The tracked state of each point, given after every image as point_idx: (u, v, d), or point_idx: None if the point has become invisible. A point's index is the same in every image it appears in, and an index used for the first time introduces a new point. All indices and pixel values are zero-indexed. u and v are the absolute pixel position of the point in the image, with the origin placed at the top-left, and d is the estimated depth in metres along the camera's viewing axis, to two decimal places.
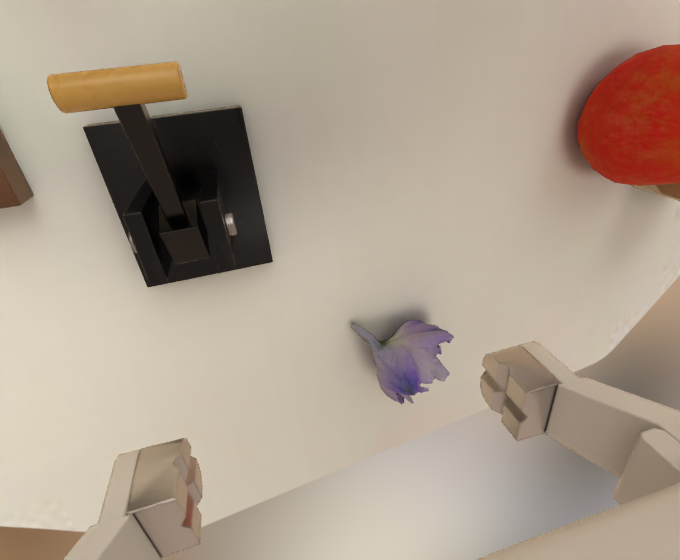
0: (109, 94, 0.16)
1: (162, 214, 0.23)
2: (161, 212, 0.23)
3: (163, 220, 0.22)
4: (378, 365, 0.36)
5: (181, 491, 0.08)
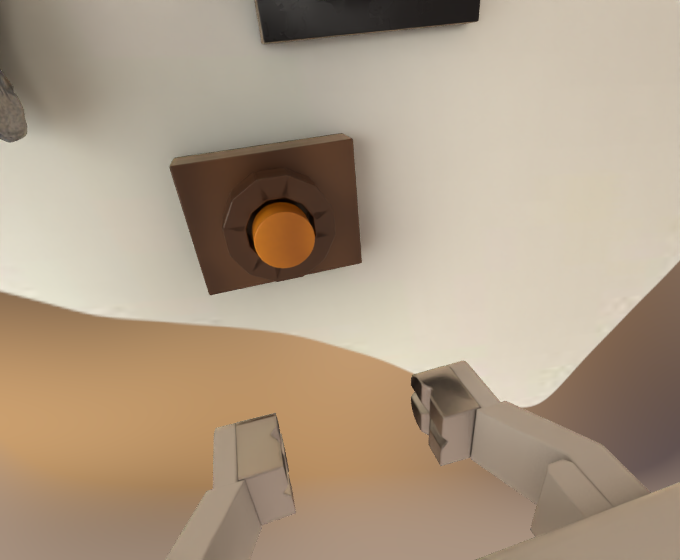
0: None
1: None
2: None
3: None
4: None
5: (283, 461, 0.09)
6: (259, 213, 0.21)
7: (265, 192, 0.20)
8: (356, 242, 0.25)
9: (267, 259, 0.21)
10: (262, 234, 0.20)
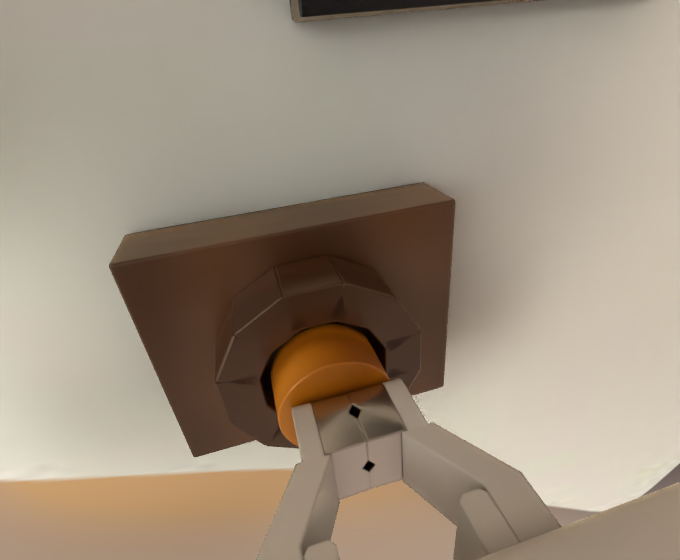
0: None
1: None
2: None
3: None
4: None
5: None
6: (285, 348, 0.11)
7: (300, 316, 0.10)
8: (439, 359, 0.15)
9: None
10: (295, 404, 0.10)
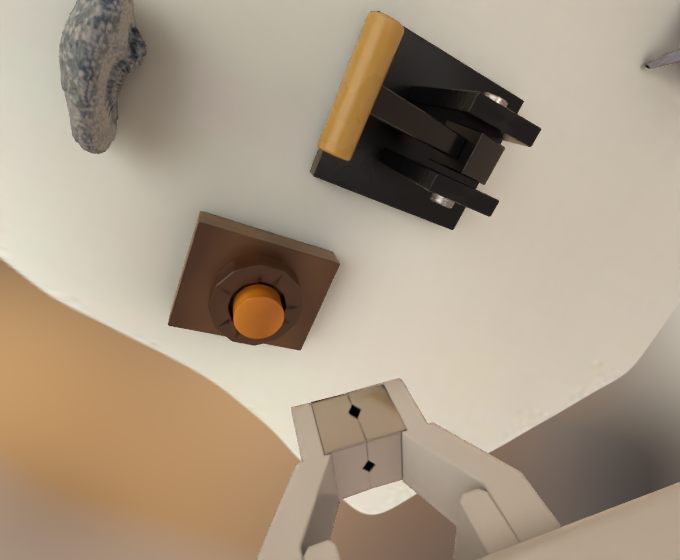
0: (364, 105, 0.15)
1: (441, 159, 0.21)
2: (438, 159, 0.21)
3: (449, 162, 0.21)
4: None
5: None
6: (248, 287, 0.25)
7: (262, 275, 0.25)
8: (305, 333, 0.30)
9: (237, 325, 0.25)
10: (246, 306, 0.24)
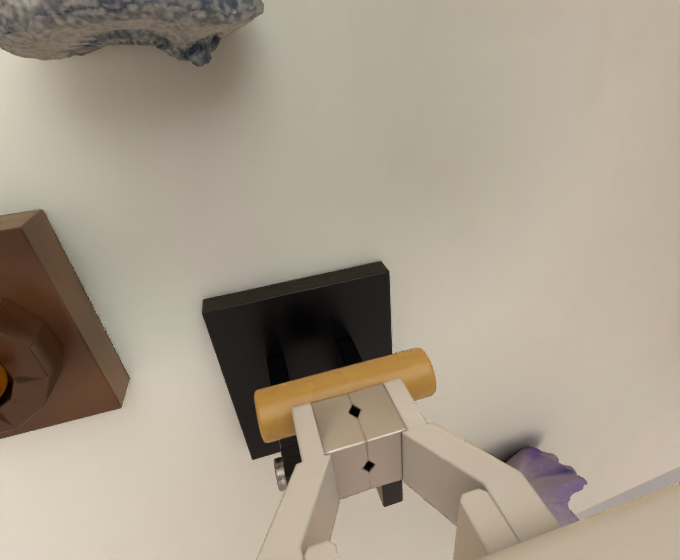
0: None
1: None
2: None
3: None
4: None
5: None
6: None
7: (13, 359, 0.15)
8: None
9: None
10: None
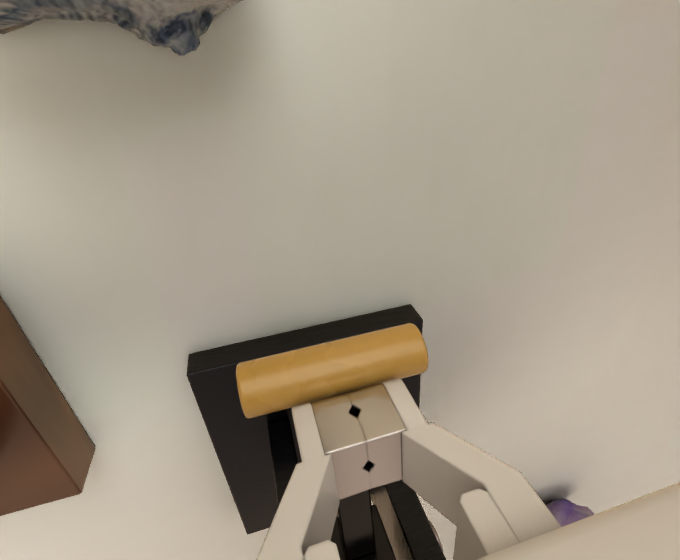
0: (324, 384, 0.10)
1: (332, 541, 0.14)
2: None
3: None
4: None
5: None
6: None
7: None
8: None
9: None
10: None
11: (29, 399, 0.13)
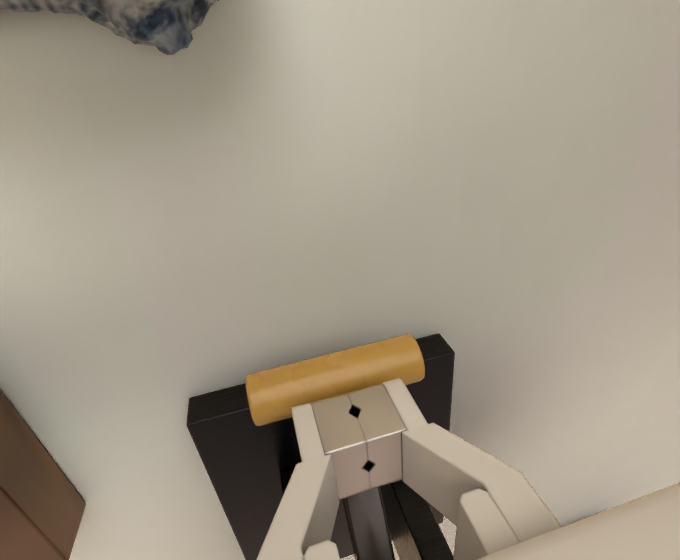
0: (326, 385, 0.11)
1: None
2: None
3: None
4: None
5: None
6: None
7: None
8: None
9: None
10: None
11: (2, 463, 0.11)
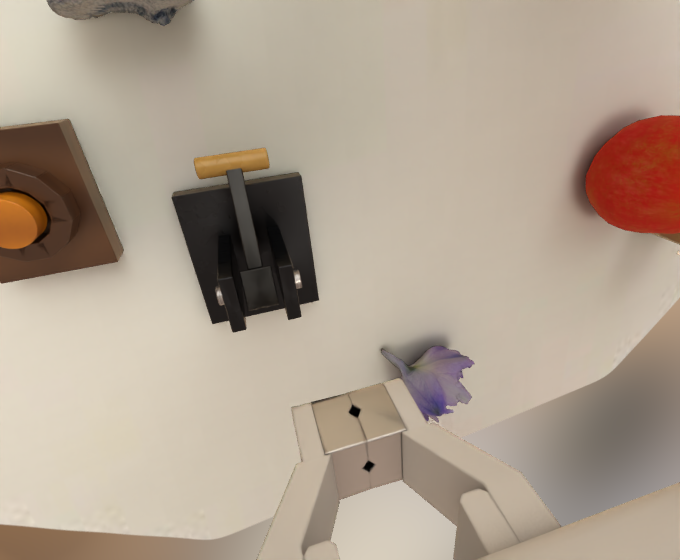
0: (225, 160, 0.27)
1: (244, 270, 0.28)
2: None
3: (244, 270, 0.28)
4: (407, 388, 0.41)
5: None
6: (30, 198, 0.25)
7: (52, 204, 0.25)
8: (23, 276, 0.28)
9: None
10: (8, 206, 0.23)
11: (94, 199, 0.28)
